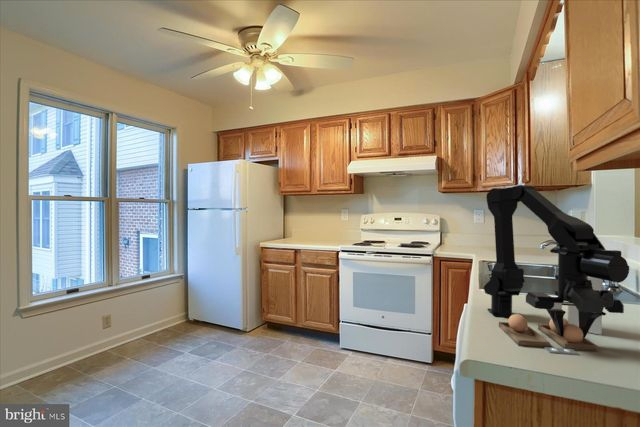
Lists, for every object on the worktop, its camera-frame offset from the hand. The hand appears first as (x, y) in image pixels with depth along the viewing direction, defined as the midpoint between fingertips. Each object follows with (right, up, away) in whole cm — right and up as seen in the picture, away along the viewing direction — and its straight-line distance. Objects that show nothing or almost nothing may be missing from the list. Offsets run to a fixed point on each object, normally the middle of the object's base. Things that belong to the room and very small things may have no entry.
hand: (571, 336), depth 79 cm
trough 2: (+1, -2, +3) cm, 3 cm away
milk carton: (+12, -2, +10) cm, 16 cm away
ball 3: (0, +1, 0) cm, 1 cm away
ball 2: (+1, +1, +5) cm, 6 cm away
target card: (-6, -2, -4) cm, 8 cm away
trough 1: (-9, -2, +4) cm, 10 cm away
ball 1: (-9, +1, +7) cm, 11 cm away
